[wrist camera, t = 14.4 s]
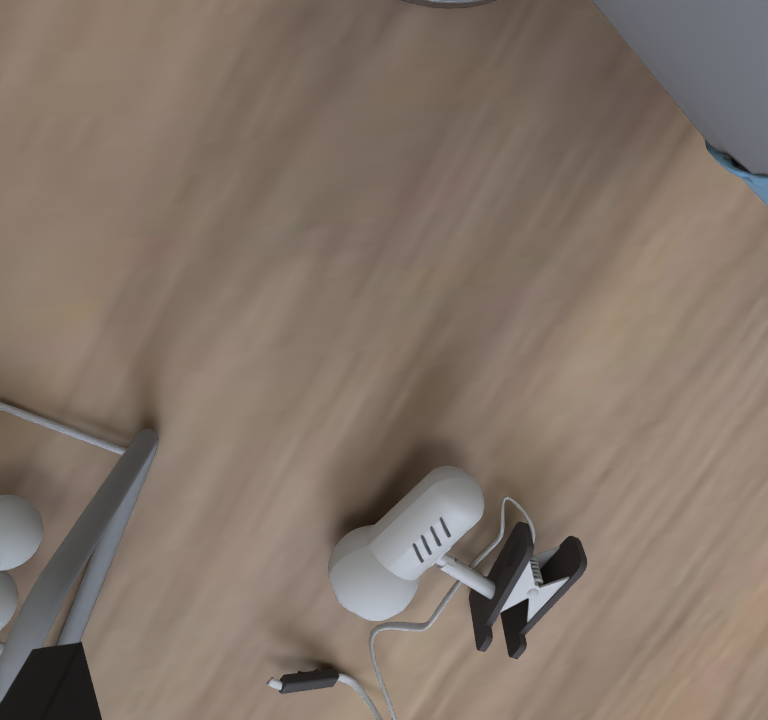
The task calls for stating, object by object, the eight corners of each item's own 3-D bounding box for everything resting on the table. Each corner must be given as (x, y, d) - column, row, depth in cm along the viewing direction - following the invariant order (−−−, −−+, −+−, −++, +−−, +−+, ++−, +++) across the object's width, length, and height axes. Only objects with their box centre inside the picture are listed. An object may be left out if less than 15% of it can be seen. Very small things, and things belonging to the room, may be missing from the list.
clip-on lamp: (392, 689, 50) (586, 527, 43) (395, 782, 44) (618, 612, 37) (245, 613, 46) (433, 423, 39) (228, 704, 40) (443, 500, 34)
